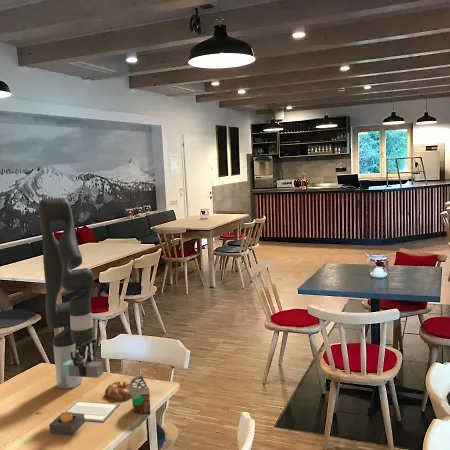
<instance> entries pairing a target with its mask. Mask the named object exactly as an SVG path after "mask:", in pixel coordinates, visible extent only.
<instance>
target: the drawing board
mask: <svg viewBox="0 0 450 450" xmlns="http://www.w3.org/2000/svg"><path fill="white" fill-rule="evenodd" d="M119 407H120V403H109V402H97V401H96V402H94V401H82V400H78V401H76V402H75V403H73V405H71V406H70V407H69V408H68V409H66V411H65V412H72V413H78V414H84V419H85V422H95V423H105V422H106V420H108V418H110V416H111V415H113V413H114V412H115V411H116V410H117V408H119ZM115 409H116V410H115ZM114 410H115V411H114Z"/></svg>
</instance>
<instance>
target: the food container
mask: <svg viewBox="0 0 450 450" xmlns="http://www.w3.org/2000/svg"><path fill="white" fill-rule="evenodd" d="M128 384H129V388H128V389H129V391H130V392H131V403H132V410H133V412H134V413H135V414H138V415H151V400H150V393H151V392H150V387H148V385H147V383H146V381H145V379H144V375H143V374H140V375H137V376H135V377H133V378H132V379H130V381H129V382H128Z"/></svg>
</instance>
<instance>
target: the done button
mask: <svg viewBox="0 0 450 450" xmlns="http://www.w3.org/2000/svg"><path fill="white" fill-rule="evenodd" d="M62 413H63V412H62ZM62 413H61V423H70V422H71V421H72V420H73V414H72V412H66V411H65V413H63V414H62Z"/></svg>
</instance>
